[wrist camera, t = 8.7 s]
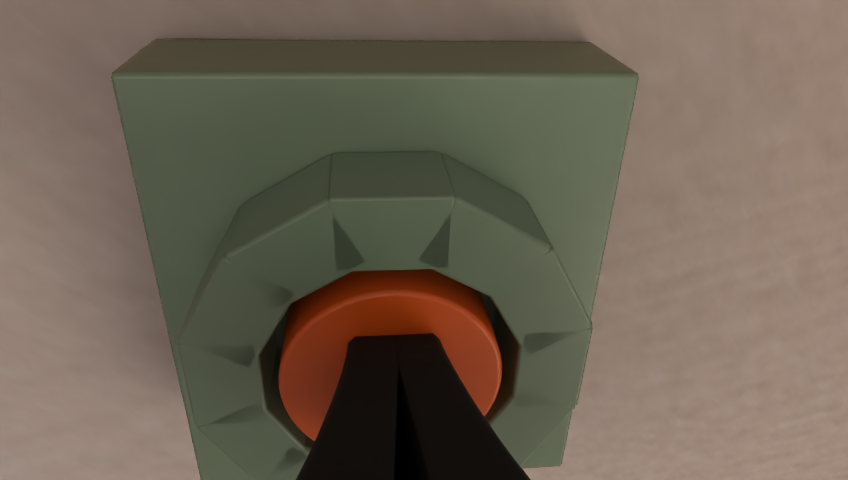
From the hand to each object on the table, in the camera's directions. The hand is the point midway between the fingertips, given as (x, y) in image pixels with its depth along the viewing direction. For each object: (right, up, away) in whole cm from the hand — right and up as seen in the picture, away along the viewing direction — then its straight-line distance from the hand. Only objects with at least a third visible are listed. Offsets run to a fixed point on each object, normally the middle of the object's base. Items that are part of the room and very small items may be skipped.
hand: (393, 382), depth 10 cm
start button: (0, +1, +1) cm, 2 cm away
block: (0, +2, +4) cm, 4 cm away
